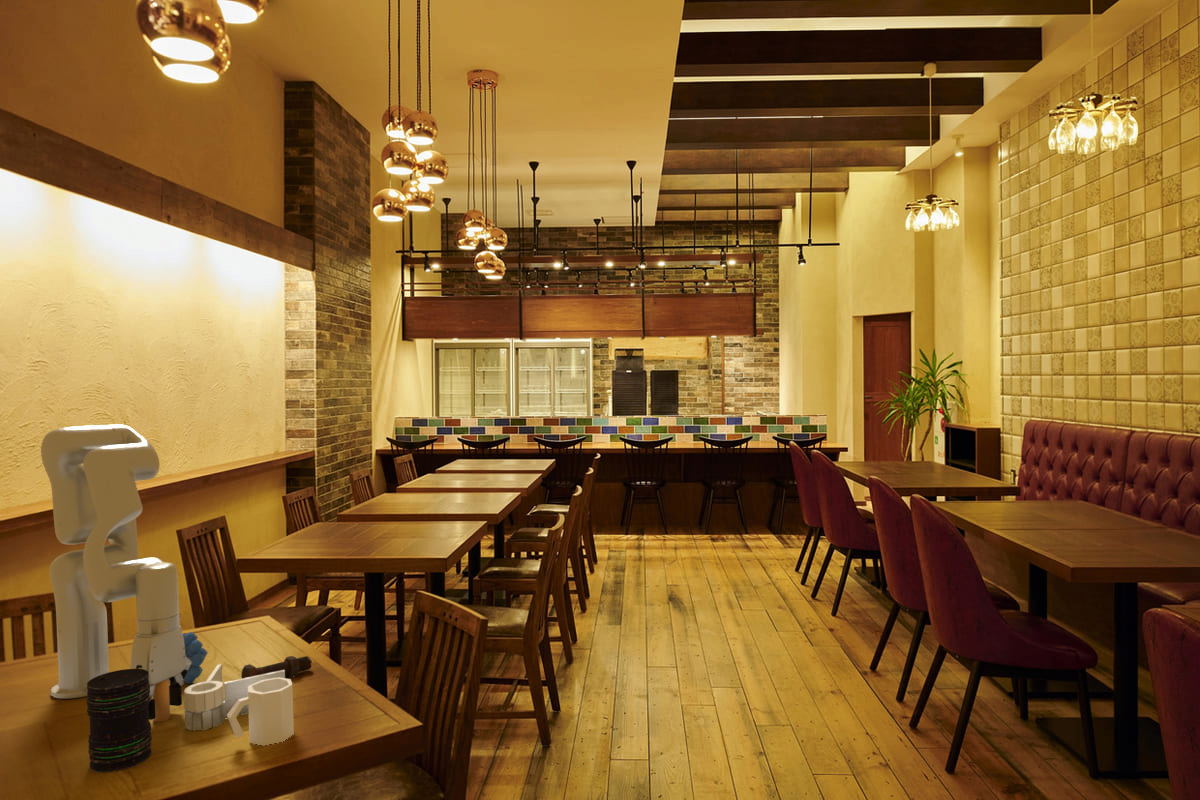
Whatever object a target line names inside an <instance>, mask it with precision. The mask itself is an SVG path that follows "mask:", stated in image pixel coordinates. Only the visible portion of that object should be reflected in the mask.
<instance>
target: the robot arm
mask: <svg viewBox="0 0 1200 800" xmlns="http://www.w3.org/2000/svg"><path fill="white" fill-rule="evenodd" d="M40 455H41V461H42V464H43V467H44V470H45V472H46V475H47V477H48V479H49V482H50V486H51V498H52V513H53V525H54V532H55V536H56V539H57V540H58V541H59V543H61V544H63V545H68V546H69V545H80V544H85V545H84V548H82V549H77V550H71V551H68V552H66V553H62V554H61V555H59V556H57V557H55V559H53V561H52V562H51V563H50V565H49V579H50V580H49V581H50V583H51V587H52V588H51V589H52V592H53V596H54V603H55V617H56V619H55V620H56V638H57V639H56V640H57V642H56V643H57V660H58V661H57V664H58V667H57V669H58V670H57V671H58V683H57V684H56V685H54V686H52V688H51V689H50V696H51V697H52V696H53V698H56V699H62V700H65V699H66V700H67V699H77V698H78V699H79V698H84V697H87V691H88V690H87V683H88V681H90V680H91V679H93V678H95V677H97V676H99V675H102V674H105V673H109V672H110V669H109V666H110V665H109V639H108V638H109V637H108V613H107V607H106V605H105V603H111V602H117V601H121V600H125V599H130V598H136V599H135V600H136V601H135V602H136V628H137V629H136V630H137V635H134V637H133V641H132V647H131V655H130V669H144V670H147V671H148V672H149V678H148V680H149V686H150V703H149V705H148V709H149V721H151V720H152V721H153V719H155V717H156V716H155V699H153V693H154V689H155V685H156V684H158V683H160V682H162V681H164V680H167V679H169V699H170V706H174V707H175V706H176V707H180V706H181V705H183V696H182V693H183V692H182V686H183V685H184V683H185V681H184V678H185V676H186V674H187V671H188V669H189V667H190V665H191V663H192V662H191V660H189V659H188V658H187V657H186V656H185V645H184V638H183V634H184V632H183V631H182V626H181V625H180V618H181V612H180V605H179V600H180V599H179V582H178V581H179V579H178V578H179V575H178V569H177V566H176V564H174V563H172V562H168V561H167V562H165V561H163V560H162V559H161V558H159V557H154V556H152V557H151V556H149V557H143V558H139V557H140V556H139V555H140V554H139V545H138V544H139V543H138V542H139V541H138V529H137V518H138V517H139V516H140V515H141V514H142V512H143V510H144V509H143V504H142V501H141V498H140V494H139V491H138V487H137V484H136V482H137V481H138V482H140V481H146V480H147V481H148V480H151V479H154V478H155V477H156V476H157V475H158V473H159V471H160V459H159V458H160V457H159V455H158V453H157V451H156V449H155V448H154V446H153V445H152V444H151V443H150V442H149V440H147V439H146V438H145V437H143V436H142V435H141V434H140V433H138V432H137V430H135V429H133V428H132V427H131V426H129V425H125V424H98V425H76V426H75V425H74V426H66V427H60V428H56V429H53V430H51V431H49V432H48V433H46V434H45V436H44V437H43V439H42V441H41V446H40ZM107 540H108V543H109V544H107V545H106V541H107Z"/></svg>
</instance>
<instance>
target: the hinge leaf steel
mask: <svg viewBox="0 0 1200 800" xmlns="http://www.w3.org/2000/svg"><path fill="white" fill-rule="evenodd" d="M278 677H280V678H286V676H285V671H284V670H281V671H276V672H271V673H266V674H262V675H257V676H252V677H247V678H243V679H242V678H239V679H235V680H229V681H224V682H223V690H224V702H223V703H222V704H221V705H220V706H218V707H216V708H213V709H210V710H205V711H199V712H196V711H195V712H191V711H187V710H186V709H185V708H184V719H185V720H184V726H185V729H186V730H187V729H188V730H187V731H192V730H193V731H192V732H196V731H195V730H202V729H203V730H202V731H206V730H210V729H209V728H211V729H212V727H214V728H216V727H218V726H220V725H221V724H220V723H222V724H223V723H224V722H225V720H226V719H225V718H228V717H227V714H228V713H229V711H230V710H231V709H232V707H233V706H234V705H235V703H236V702H237V701H238V699H242V698H246V697H248V686H250V685H252V684H254V683H256V682H259V681H261V680H265V679H271V678H278ZM246 713H249V710H248V705H244V706H243V707H242V709H241V711H240V712H239V714H238V715H241V716H243V715H242V714H246ZM246 715H247V714H246ZM219 724H220V725H219ZM217 725H218V726H217ZM215 726H216V727H215ZM205 729H206V730H205Z"/></svg>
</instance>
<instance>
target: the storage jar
mask: <svg viewBox="0 0 1200 800" xmlns="http://www.w3.org/2000/svg"><path fill="white" fill-rule="evenodd" d="M148 678H149V672H148V671H147V670H144V669H131V668H126V669H118V670H114V671H109V673H105V674H102V675H99V676H97V677H95V678H93V679H91V680H90V681H88V683H87V690H88V691H87V696H86V706H87V709H86V712H87V716H88V717H89V733H90V734H89V735H88V740H87V742H88V755H89V760H90V762H89V769H90V771H93V772H95V773H113V772H118V771H123V770H126V769H131V768H132V767H133V768H134V767H135V766H138V765H139V764H142V763H143V762H146V761H147V759H149V758H150V757H151V756H152V748H151V745H152V737H153V735H152V724H151V721H150V720H149V709H148V705H149V703H150V686H149V680H148Z"/></svg>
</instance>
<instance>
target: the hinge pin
mask: <svg viewBox="0 0 1200 800" xmlns="http://www.w3.org/2000/svg"><path fill="white" fill-rule="evenodd" d="M169 685H170V684H169V679H167V680H164V681H162V682H160V683H158V684H156V685H155V689H154V693H153V696H152V699H155V716H156V717H155V719H153V720H152V721H153V722H155V723H160V722H165V721H168V720H169V719H170V718H171V705H170V699H169ZM167 719H168V720H167Z"/></svg>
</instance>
